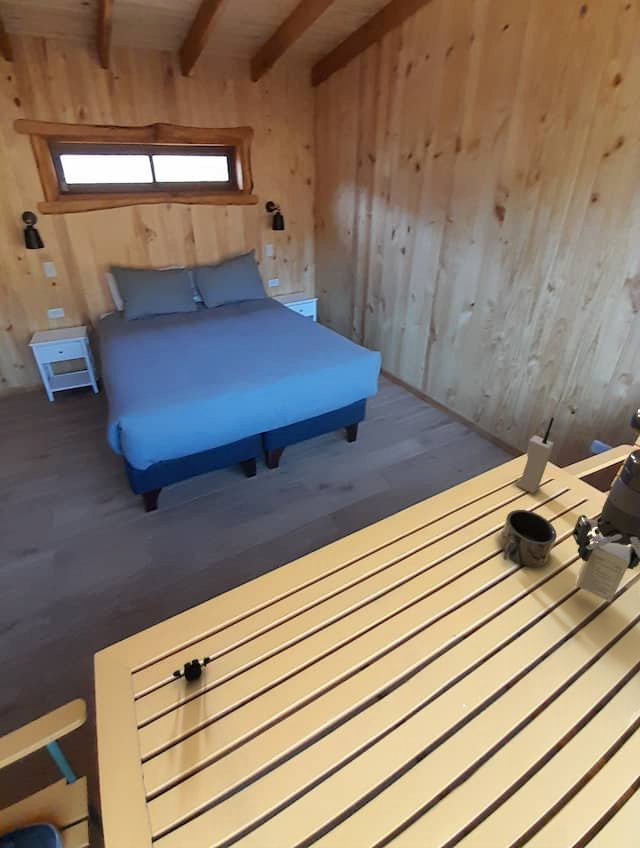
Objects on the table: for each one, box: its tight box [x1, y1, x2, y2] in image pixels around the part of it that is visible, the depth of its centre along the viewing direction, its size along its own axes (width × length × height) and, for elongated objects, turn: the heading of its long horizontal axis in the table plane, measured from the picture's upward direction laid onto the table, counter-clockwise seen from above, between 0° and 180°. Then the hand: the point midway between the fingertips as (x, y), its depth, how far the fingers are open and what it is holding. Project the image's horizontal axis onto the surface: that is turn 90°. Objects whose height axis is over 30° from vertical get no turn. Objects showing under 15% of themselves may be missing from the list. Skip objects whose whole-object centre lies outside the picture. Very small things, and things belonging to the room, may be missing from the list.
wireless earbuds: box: [172, 656, 211, 682], centre depth 75 cm, size 7×2×5 cm, turn 113°
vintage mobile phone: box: [515, 417, 555, 494], centre depth 114 cm, size 4×5×25 cm
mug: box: [499, 509, 557, 568], centre depth 98 cm, size 14×10×8 cm
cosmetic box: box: [575, 534, 632, 603], centre depth 83 cm, size 6×4×12 cm
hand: (605, 561), depth 82 cm, fingers closed on cosmetic box, 7 cm apart
